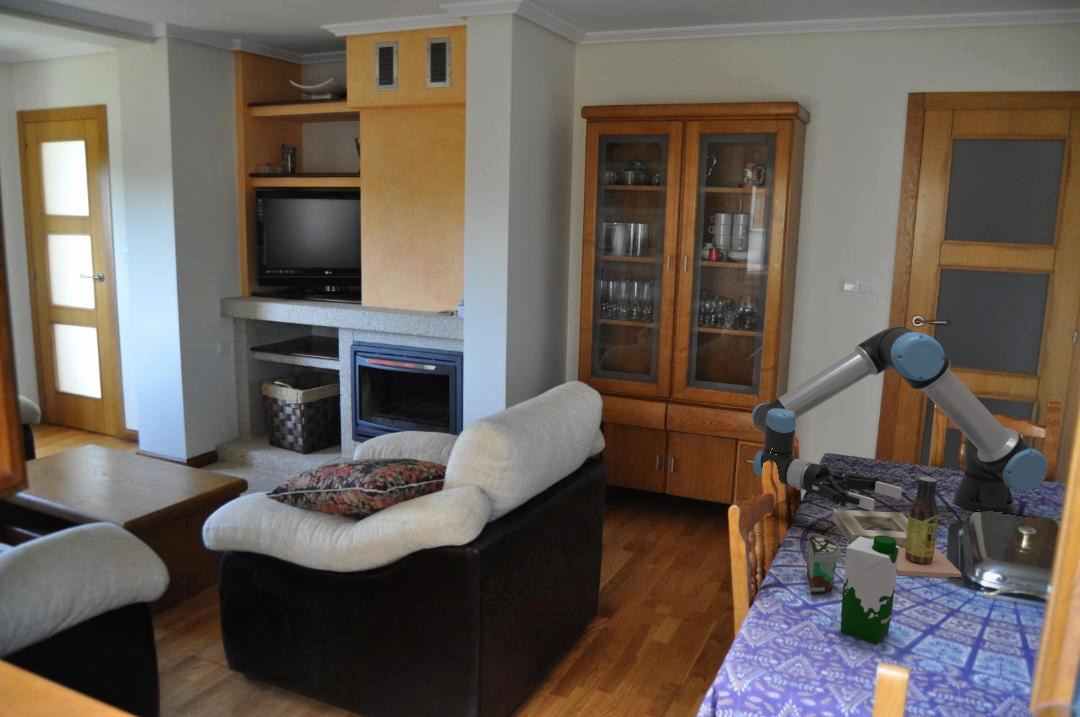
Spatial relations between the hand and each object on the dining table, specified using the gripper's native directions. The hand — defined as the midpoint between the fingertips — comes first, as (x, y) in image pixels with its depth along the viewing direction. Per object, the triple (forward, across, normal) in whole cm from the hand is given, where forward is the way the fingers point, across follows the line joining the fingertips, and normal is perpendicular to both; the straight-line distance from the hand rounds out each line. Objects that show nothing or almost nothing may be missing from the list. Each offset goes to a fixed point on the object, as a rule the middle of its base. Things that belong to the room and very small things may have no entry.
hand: (887, 499), depth 206 cm
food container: (+1, +29, -14) cm, 32 cm away
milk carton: (+17, +41, -14) cm, 47 cm away
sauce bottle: (+9, 0, -13) cm, 15 cm away
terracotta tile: (+9, 0, -14) cm, 16 cm away
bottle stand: (-6, -10, -14) cm, 18 cm away
